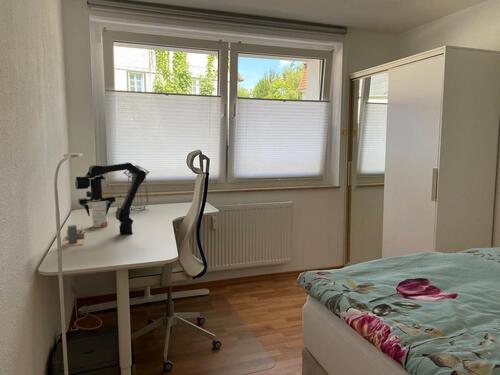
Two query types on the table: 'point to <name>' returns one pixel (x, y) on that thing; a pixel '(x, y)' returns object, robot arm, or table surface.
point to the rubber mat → (66, 243)
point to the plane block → (80, 233)
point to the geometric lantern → (137, 191)
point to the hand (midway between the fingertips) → (97, 215)
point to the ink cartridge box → (99, 215)
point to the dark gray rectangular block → (72, 234)
